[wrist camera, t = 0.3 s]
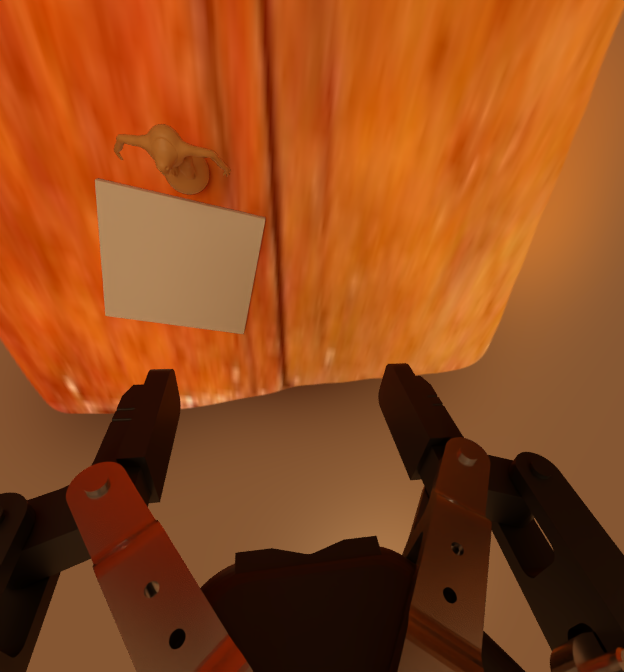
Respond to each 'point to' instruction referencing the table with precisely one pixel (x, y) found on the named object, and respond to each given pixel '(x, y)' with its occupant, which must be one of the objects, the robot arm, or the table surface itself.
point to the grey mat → (176, 258)
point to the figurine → (174, 157)
